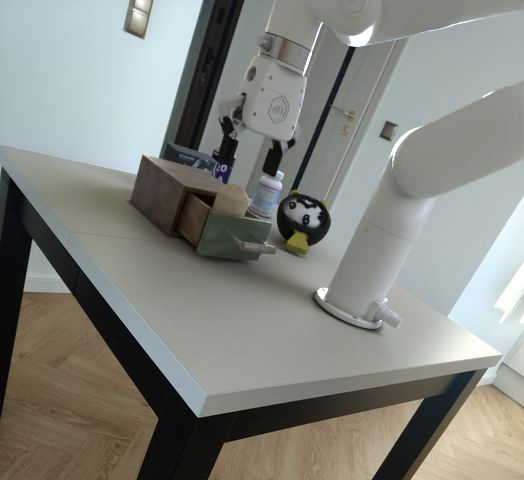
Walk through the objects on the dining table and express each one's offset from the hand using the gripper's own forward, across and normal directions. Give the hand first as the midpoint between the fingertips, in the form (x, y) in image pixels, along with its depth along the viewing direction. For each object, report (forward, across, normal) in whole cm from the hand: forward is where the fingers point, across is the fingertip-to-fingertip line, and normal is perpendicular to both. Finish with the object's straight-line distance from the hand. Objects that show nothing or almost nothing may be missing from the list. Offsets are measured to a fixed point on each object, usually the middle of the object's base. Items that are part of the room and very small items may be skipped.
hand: (246, 168), depth 84 cm
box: (+15, +8, +29) cm, 34 cm away
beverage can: (+15, +22, +36) cm, 45 cm away
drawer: (+14, 0, 0) cm, 14 cm away
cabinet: (+15, 0, +13) cm, 20 cm away
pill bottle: (+15, +34, +30) cm, 48 cm away
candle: (+13, 0, +1) cm, 13 cm away
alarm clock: (+16, +29, +10) cm, 34 cm away
